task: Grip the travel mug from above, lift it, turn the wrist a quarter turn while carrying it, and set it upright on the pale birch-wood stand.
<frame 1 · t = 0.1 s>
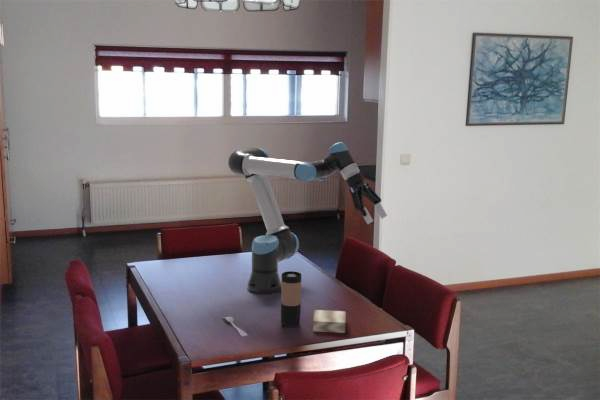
hand: (377, 219, 264), 36 cm above the table, tool tilted 35°, fingers open, 13 cm apart
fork: (234, 327, 240), on the table
stand: (329, 326, 243), on the table
travel mug: (290, 324, 244), on the table
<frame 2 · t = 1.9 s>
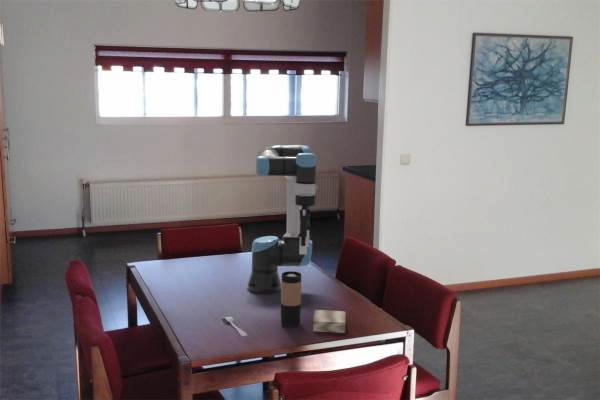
hand: (304, 250, 239), 29 cm above the table, tool pointing down, fingers open, 13 cm apart
nothing on the table moved.
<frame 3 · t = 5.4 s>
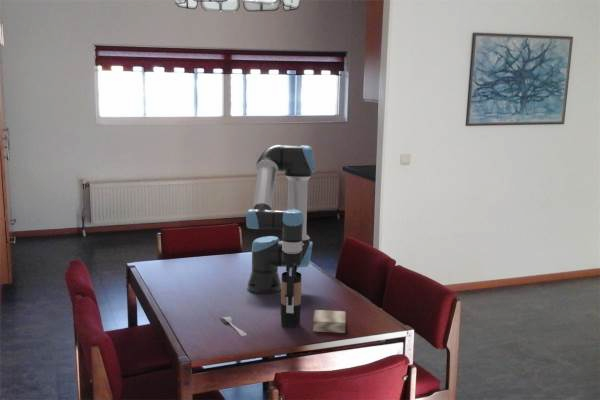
hand: (290, 308, 243), 6 cm above the table, tool pointing down, fingers closed on travel mug, 8 cm apart
travel mug: (290, 324, 244), on the table, touching gripper
everything else where it was.
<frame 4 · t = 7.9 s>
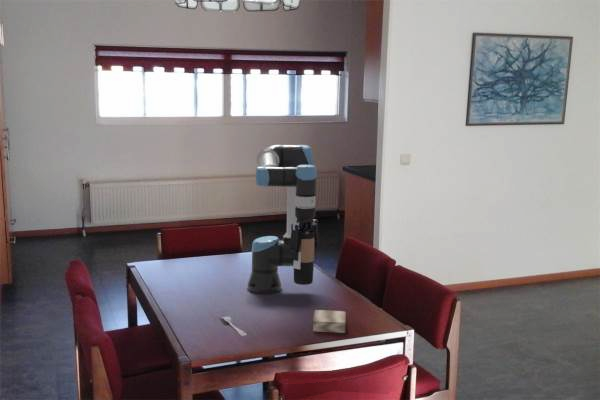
hand: (303, 266, 239), 23 cm above the table, tool pointing down, fingers closed on travel mug, 8 cm apart
travel mug: (303, 282, 240), point 17 cm above the table, touching gripper
everything else where it was.
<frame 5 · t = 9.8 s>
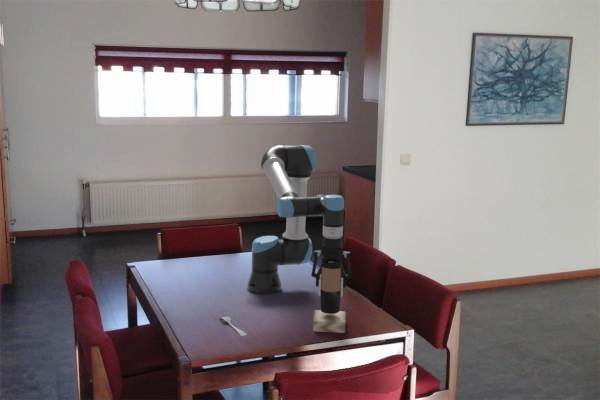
hand: (330, 294, 240), 12 cm above the table, tool pointing down, fingers closed on travel mug, 8 cm apart
travel mug: (330, 311, 242), point 6 cm above the table, touching gripper
everything else where it was.
when the fingers open (12 cm above the table, at t = 10.7 s): travel mug drops 1 cm, resting on stand.
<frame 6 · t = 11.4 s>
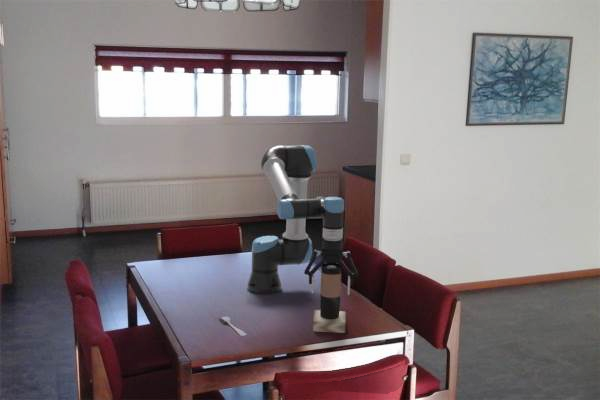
hand: (330, 293, 240), 13 cm above the table, tool pointing down, fingers open, 13 cm apart
travel mug: (329, 316, 242), point 4 cm above the table, touching stand
everything else where it was.
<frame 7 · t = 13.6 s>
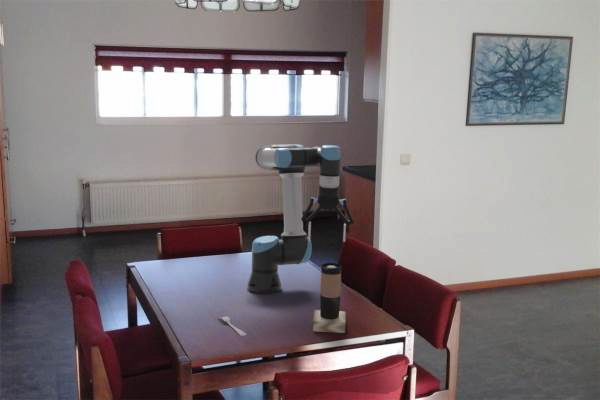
hand: (326, 239, 246), 32 cm above the table, tool pointing down, fingers open, 13 cm apart
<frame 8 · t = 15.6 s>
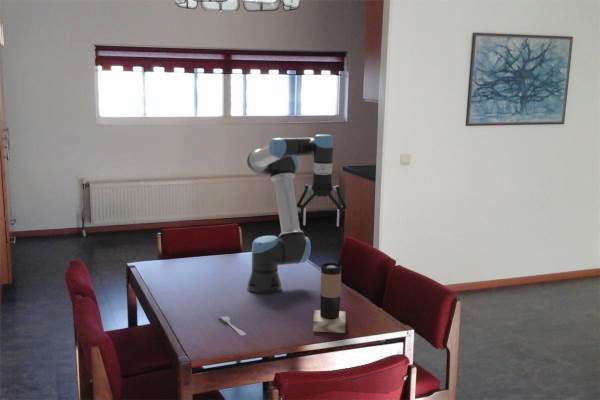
hand: (321, 225, 257), 35 cm above the table, tool pointing down, fingers open, 13 cm apart
at the end: travel mug inside the target area on the stand (0.0 cm from its centre), point 3.8 cm above the stand's base; travel mug tilted 0°; the gripper is holding nothing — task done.
